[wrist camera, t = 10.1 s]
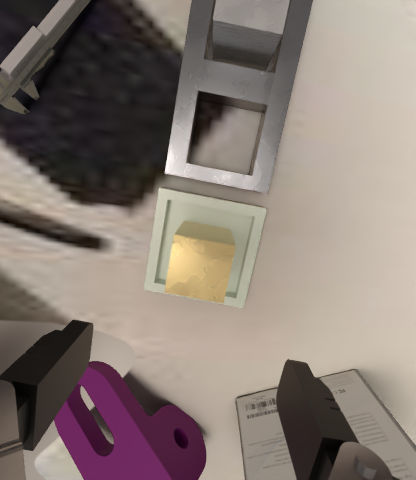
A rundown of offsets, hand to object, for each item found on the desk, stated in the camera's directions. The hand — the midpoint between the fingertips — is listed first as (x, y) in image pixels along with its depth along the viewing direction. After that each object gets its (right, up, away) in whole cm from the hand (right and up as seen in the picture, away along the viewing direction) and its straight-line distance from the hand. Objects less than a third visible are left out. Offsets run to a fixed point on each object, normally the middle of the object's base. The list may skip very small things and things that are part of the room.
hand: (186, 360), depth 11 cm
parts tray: (0, +4, +20) cm, 20 cm away
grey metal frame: (+3, +20, +16) cm, 26 cm away
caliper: (-12, +26, +16) cm, 32 cm away
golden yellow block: (0, +4, +19) cm, 20 cm away
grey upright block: (+4, +24, +16) cm, 29 cm away
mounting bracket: (-9, -17, +25) cm, 31 cm away
